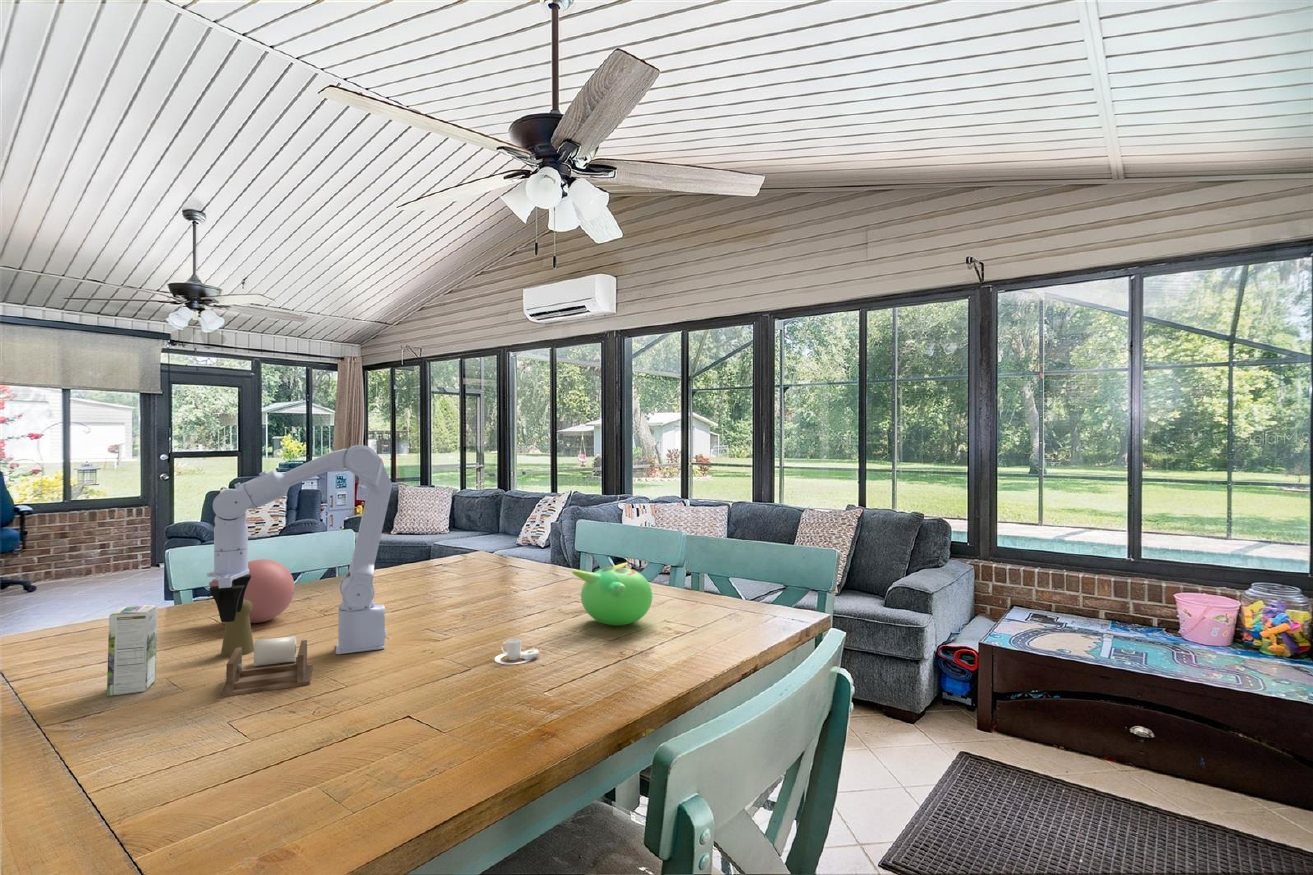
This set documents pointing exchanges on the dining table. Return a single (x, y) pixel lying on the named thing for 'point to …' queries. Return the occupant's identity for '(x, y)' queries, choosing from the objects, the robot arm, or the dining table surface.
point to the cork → (238, 632)
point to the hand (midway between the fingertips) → (231, 616)
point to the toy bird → (615, 594)
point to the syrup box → (132, 649)
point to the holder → (265, 674)
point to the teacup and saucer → (516, 652)
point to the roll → (274, 651)
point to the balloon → (267, 589)
